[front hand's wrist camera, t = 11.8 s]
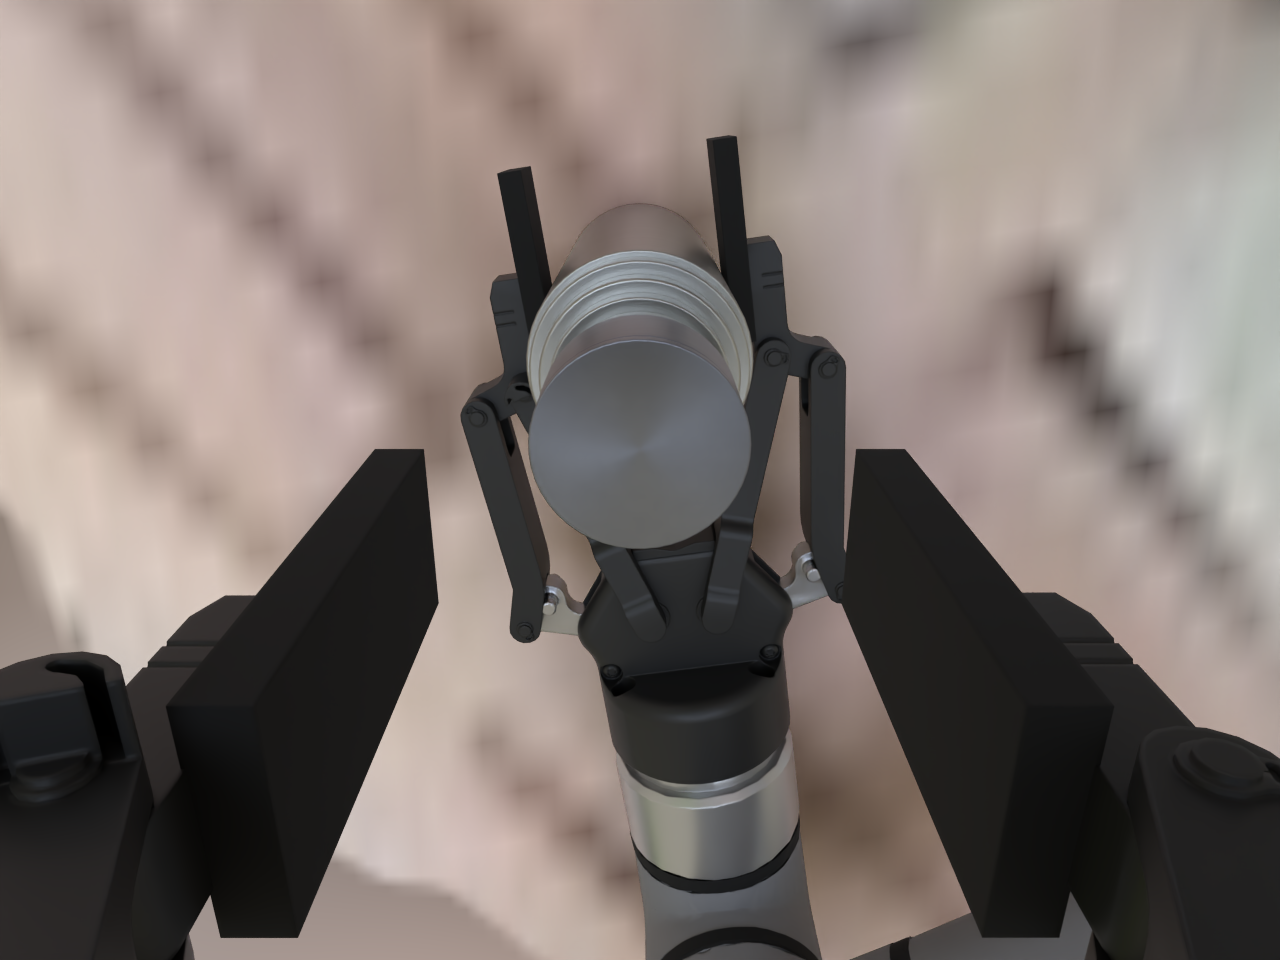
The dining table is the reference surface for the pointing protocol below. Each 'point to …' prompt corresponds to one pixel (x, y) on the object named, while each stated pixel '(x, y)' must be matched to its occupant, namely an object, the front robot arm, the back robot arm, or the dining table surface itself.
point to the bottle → (639, 289)
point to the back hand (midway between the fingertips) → (617, 155)
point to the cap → (639, 433)
